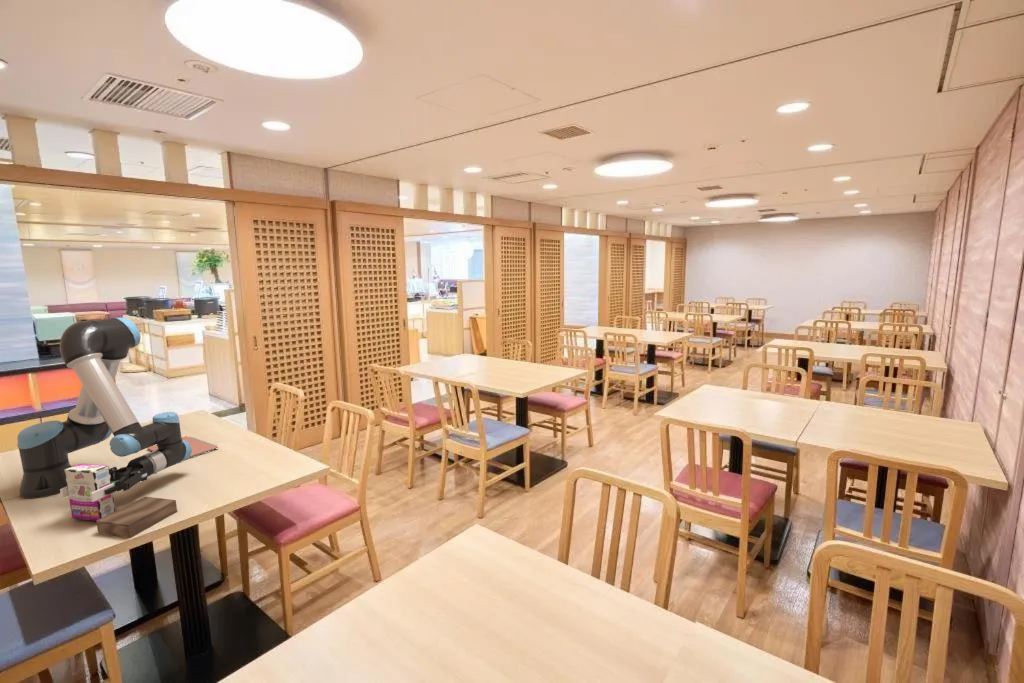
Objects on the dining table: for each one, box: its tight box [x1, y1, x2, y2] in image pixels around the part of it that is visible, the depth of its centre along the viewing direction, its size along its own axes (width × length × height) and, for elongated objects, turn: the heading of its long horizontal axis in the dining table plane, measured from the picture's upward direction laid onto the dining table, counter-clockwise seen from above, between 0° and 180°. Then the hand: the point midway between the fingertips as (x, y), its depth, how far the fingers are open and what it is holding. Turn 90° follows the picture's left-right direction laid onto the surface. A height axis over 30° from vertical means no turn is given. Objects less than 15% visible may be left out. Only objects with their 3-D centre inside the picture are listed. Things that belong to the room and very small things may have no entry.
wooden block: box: [95, 496, 178, 538], centre depth 144 cm, size 12×15×4 cm
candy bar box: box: [65, 463, 117, 522], centre depth 146 cm, size 11×5×16 cm, turn 80°
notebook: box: [146, 435, 219, 459], centre depth 203 cm, size 27×17×2 cm, turn 59°
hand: (76, 495), depth 142 cm, fingers closed on candy bar box, 11 cm apart
